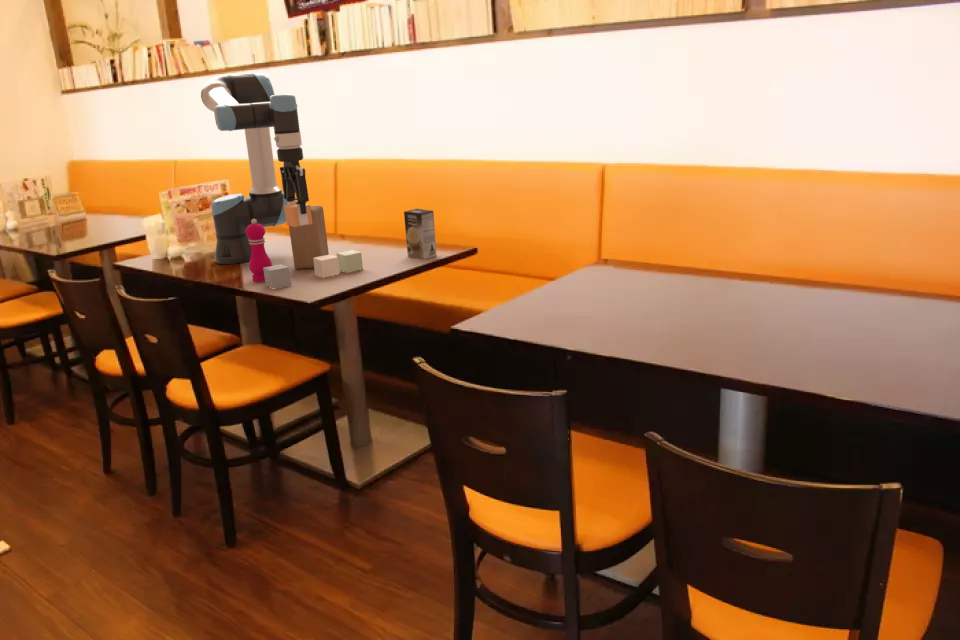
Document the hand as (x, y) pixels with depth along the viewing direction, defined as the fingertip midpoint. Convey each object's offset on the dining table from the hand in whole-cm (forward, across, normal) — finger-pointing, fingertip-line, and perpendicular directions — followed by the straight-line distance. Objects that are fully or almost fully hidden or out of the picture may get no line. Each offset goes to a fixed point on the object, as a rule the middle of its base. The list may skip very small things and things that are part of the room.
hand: (299, 223), depth 239 cm
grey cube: (+19, -3, -8) cm, 21 cm away
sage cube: (+19, -3, +17) cm, 26 cm away
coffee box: (+19, -1, +44) cm, 48 cm away
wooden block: (+19, -20, +11) cm, 30 cm away
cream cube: (+19, -3, +8) cm, 21 cm away
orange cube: (0, 0, 0) cm, 0 cm away
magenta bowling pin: (+19, -15, -9) cm, 26 cm away
